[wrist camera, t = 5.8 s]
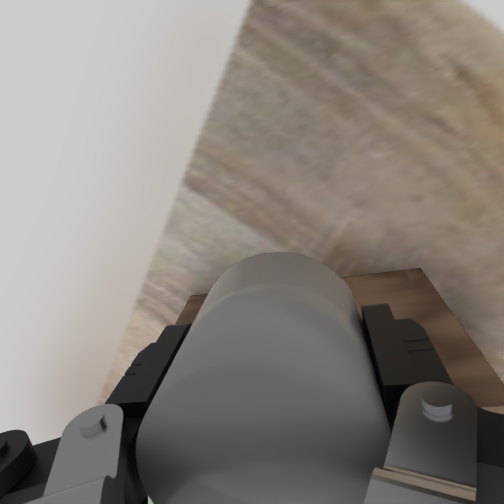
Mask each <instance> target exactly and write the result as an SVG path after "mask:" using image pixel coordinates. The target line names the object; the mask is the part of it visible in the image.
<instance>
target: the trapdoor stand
mask: <svg viewBox="0 0 504 504" xmlns="http://www.w3.org/2000/svg"><path fill="white" fill-rule="evenodd" d="M342 279H343V280H344V282H345V283H346V284H347V285H348V287H349V288H350V289H351V291H352V293H353V295H354V297H355V298H356V300H357V303H358V306H359V309H360V313H361V317H362V312H361V306H363V305H372V304H382V303H388V304H389V307H390V309H391V311H392V314H393V316H394V319H395V320H399V319H409V318H411V319H412V320H414V321H415V322H417V323H418V324H419V325H421V326H422V327H424V329H425V331H426V333H427V335H428V336H429V338H430V341H431V342H432V344H433V346H434V348H435V351H436V352H437V354H438V356H439V357H440V359H441V361H442V363H443V365H444V367H445V369H446V371H447V373H448V375H449V377H450V378H451V380H452V382H453V384H454V386H456V387H458V388H460V389H462V390H464V391H465V392H466V393H468V394H469V395H470V396H471V397H472V398H473V400H474V401H475V403H476V406H478V407H480V408H482V409H485V410H488V411H491V412H495V413H499V414H504V384H503V382H502V381H501V380H500V378H499V377H498V375H497V374H496V373H495V371H494V370H493V368H492V367H491V366H490V364H489V363H488V362H487V360H486V359H485V357H484V356H483V355H482V353H481V352H480V350H479V349H478V348H477V346H476V345H475V343H474V342H473V341H472V339H471V338H470V337H469V335H468V334H467V332H466V331H465V330H464V328H463V327H462V325H461V324H460V323H459V321H458V320H457V318H456V317H455V316H454V314H453V313H452V312H451V310H450V309H449V307H448V306H447V305H446V303H445V302H444V300H443V299H442V298H441V296H440V295H439V293H438V292H437V291H436V289H435V288H434V287H433V285H432V284H431V282H430V281H429V280H428V278H427V277H426V275H425V274H424V273H423V271H422V270H421V268H419V269H411V270H402V271H394V272H386V273H378V274H369V275H361V276H353V277H345V278H342ZM207 295H208V294H204V295H196V296H191V297H190V298H189V300H188V302H187V304H186V306H185V307H184V309H183V311H182V313H181V314H180V316H179V318H178V320H177V322H176V323H175V325H178V324H187V323H191V324H193V322H194V320H195V318H196V316H197V314H198V312H199V310H200V309H201V307H202V305H203V303H204V301H205V299H206V297H207Z"/></svg>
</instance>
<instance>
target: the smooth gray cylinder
mask: <svg viewBox="0 0 504 504" xmlns="http://www.w3.org/2000/svg"><path fill="white" fill-rule="evenodd" d="M391 435H392V433H391V429H390V425H389V421H388V417H387V414H386V410H385V406H384V403H383V399H382V395H381V391H380V387H379V383H378V379H377V375H376V372H375V368H374V364H373V360H372V356H371V352H370V348H369V344H368V341H367V337H366V333H365V329H364V325H363V321H362V317H361V313H360V309H359V306H358V303H357V300H356V298H355V297H354V295H353V293H352V291H351V289H350V288H349V287H348V285H347V284H346V283H345V282H344V280H343V279H342V278H341V277H340V276H339V275H338V274H336V273H335V272H334V271H333V270H331V269H330V268H329V267H327V266H325V265H324V264H322V263H320V262H318V261H316V260H314V259H312V258H309V257H305V256H302V255H298V254H293V253H283V252H274V253H264V254H259V255H255V256H252V257H249V258H246V259H244V260H242V261H240V262H238V263H236V264H235V265H233V266H232V267H230V268H229V269H227V270H226V271H225V272H224V273H223V274H222V275H221V276H220V277H219V278H218V279H217V281H216V282H215V283H214V285H213V286H212V288H211V290H210V291H209V293H208V295H207V297H206V299H205V301H204V303H203V305H202V307H201V309H200V310H199V312H198V314H197V316H196V318H195V320H194V322H193V324H192V326H191V328H190V330H189V332H188V333H187V335H186V337H185V339H184V341H183V343H182V345H181V347H180V349H179V351H178V353H177V354H176V356H175V358H174V360H173V362H172V364H171V366H170V368H169V370H168V372H167V374H166V376H165V377H164V379H163V381H162V383H161V385H160V387H159V389H158V391H157V393H156V395H155V397H154V399H153V400H152V402H151V404H150V406H149V408H148V410H147V412H146V414H145V416H144V418H143V420H142V423H141V425H140V428H139V431H138V436H137V440H136V461H137V468H138V472H139V475H140V479H141V481H142V483H143V486H144V488H145V490H146V492H147V494H148V495H149V497H150V499H151V500H152V502H153V503H154V504H364V501H365V497H366V493H367V490H368V486H369V482H370V479H371V475H372V473H373V470H374V468H375V467H376V466H380V467H384V463H385V460H386V455H387V451H388V447H389V443H390V439H391Z"/></svg>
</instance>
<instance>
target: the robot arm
mask: <svg viewBox="0 0 504 504" xmlns="http://www.w3.org/2000/svg"><path fill="white" fill-rule="evenodd" d="M361 312H362V321H363V325H364V329H365V333H366V337H367V341H368V344H369V348H370V352H371V356H372V360H373V364H374V368H375V372H376V375H377V379H378V383H379V387H380V391H381V395H382V399H383V403H384V406H385V410H386V414H387V417H388V421H389V425H390V429H391V433H392V435H391V439H390V443H389V447H388V451H387V455H386V460H385V463H384V467H380V466H376V467H375V468H374V470H373V473H372V475H371V479H370V482H369V486H368V490H367V493H366V497H365V501H364V504H504V414H499V413H495V412H491V411H488V410H485V409H482V408H480V407H478V406H476V403H475V401H474V400H473V398H472V397H471V396H470V395H469V394H468V393H466V392H465V391H464V390H462V389H460V388H458V387H456V386H454V384H453V382H452V380H451V378H450V377H449V375H448V373H447V371H446V369H445V367H444V365H443V363H442V361H441V359H440V357H439V356H438V354H437V352H436V351H435V348H434V346H433V344H432V342H431V341H430V338H429V336H428V335H427V333H426V331H425V329H424V327H422V326H421V325H419V324H418V323H417V322H415V321H414V320H412V319H411V318H409V319H399V320H395V319H394V316H393V314H392V311H391V309H390V307H389V304H388V303H382V304H372V305H363V306H361ZM191 326H192V324H191V323H187V324H178V325H168V326H166V327H165V329H164V330H163V332H162V333H161V335H160V337H159V338H158V340H157V341H156V343H151V344H150V345H148V346H147V347H146V348H145V349H143V350H142V351H141V352H140V353H138V355H137V356H136V358H135V359H134V361H133V362H132V364H131V367H129V368H128V370H127V371H126V373H125V376H123V377H122V379H121V380H120V382H119V383H118V385H117V386H116V388H115V389H114V391H113V392H112V394H111V395H110V397H109V398H108V399H107V401H106V402H105V404H103V405H98V406H95V407H92V408H90V409H88V410H86V411H84V412H82V413H81V414H79V415H78V416H76V417H75V418H74V419H73V420H72V421H71V422H69V424H68V425H67V426H66V428H65V429H64V431H63V433H62V436H61V437H60V438H57V439H54V440H50V441H47V442H43V443H40V444H37V445H34V446H32V443H31V441H30V439H29V437H28V435H27V433H26V432H24V431H22V430H11V431H6V432H3V433H0V504H154V503H153V502H152V500H151V499H150V497H149V495H148V494H147V492H146V490H145V488H144V486H143V483H142V481H141V479H140V475H139V472H138V468H137V461H136V440H137V436H138V431H139V428H140V425H141V423H142V420H143V418H144V416H145V414H146V412H147V410H148V408H149V406H150V404H151V402H152V400H153V399H154V397H155V395H156V393H157V391H158V389H159V387H160V385H161V383H162V381H163V379H164V377H165V376H166V374H167V372H168V370H169V368H170V366H171V364H172V362H173V360H174V358H175V356H176V354H177V353H178V351H179V349H180V347H181V345H182V343H183V341H184V339H185V337H186V335H187V333H188V332H189V330H190V328H191Z"/></svg>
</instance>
